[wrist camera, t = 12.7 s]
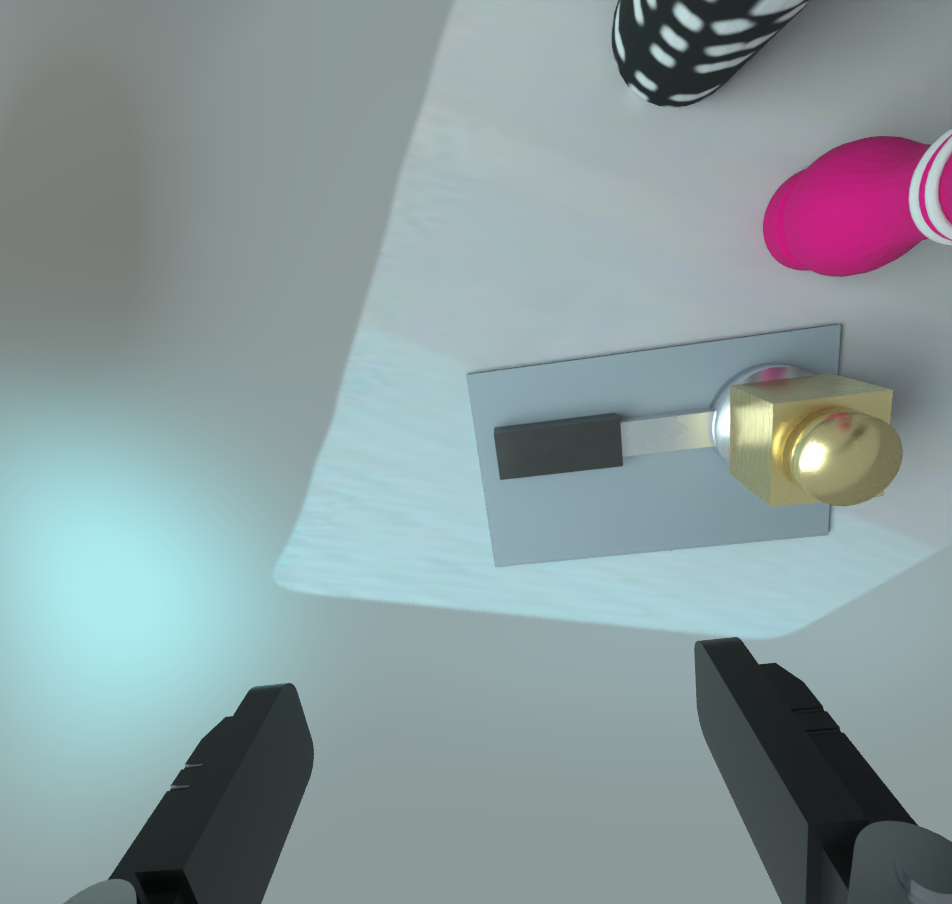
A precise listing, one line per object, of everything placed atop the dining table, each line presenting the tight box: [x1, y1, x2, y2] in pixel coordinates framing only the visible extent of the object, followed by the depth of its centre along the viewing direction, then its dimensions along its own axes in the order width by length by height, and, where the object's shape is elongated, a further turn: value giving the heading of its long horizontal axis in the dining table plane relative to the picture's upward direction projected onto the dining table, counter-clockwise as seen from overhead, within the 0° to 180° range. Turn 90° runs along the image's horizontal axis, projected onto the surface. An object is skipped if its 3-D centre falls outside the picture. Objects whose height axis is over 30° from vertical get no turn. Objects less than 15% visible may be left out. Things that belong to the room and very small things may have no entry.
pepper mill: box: [763, 128, 952, 277], centre depth 24 cm, size 7×7×20 cm
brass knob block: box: [730, 373, 902, 507], centre depth 32 cm, size 6×6×8 cm
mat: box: [467, 324, 841, 567], centre depth 39 cm, size 16×26×1 cm, turn 98°
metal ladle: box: [494, 363, 815, 480], centre depth 36 cm, size 8×24×6 cm, turn 98°
